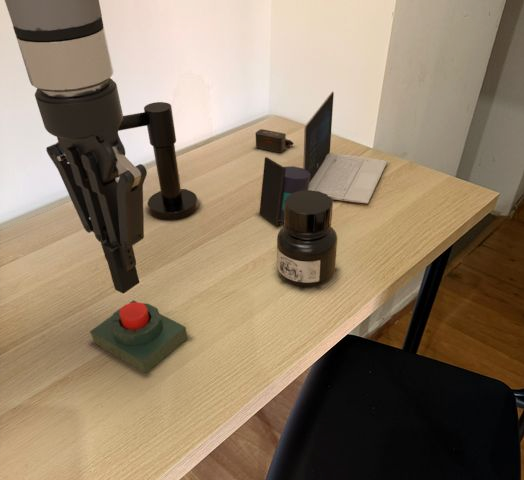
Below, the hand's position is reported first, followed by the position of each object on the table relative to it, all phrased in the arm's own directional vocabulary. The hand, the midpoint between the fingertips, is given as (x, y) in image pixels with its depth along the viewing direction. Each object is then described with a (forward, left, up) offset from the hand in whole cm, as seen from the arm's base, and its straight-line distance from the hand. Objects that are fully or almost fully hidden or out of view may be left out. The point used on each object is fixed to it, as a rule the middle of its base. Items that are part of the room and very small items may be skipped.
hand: (127, 286), depth 66 cm
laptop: (0, +56, -10) cm, 57 cm away
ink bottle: (+10, +26, -10) cm, 29 cm away
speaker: (-2, +38, -10) cm, 39 cm away
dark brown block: (-20, +60, -10) cm, 64 cm away
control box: (0, 0, -10) cm, 10 cm away
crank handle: (-24, +24, -3) cm, 34 cm away
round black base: (-21, +29, -10) cm, 37 cm away
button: (0, 0, -6) cm, 6 cm away
